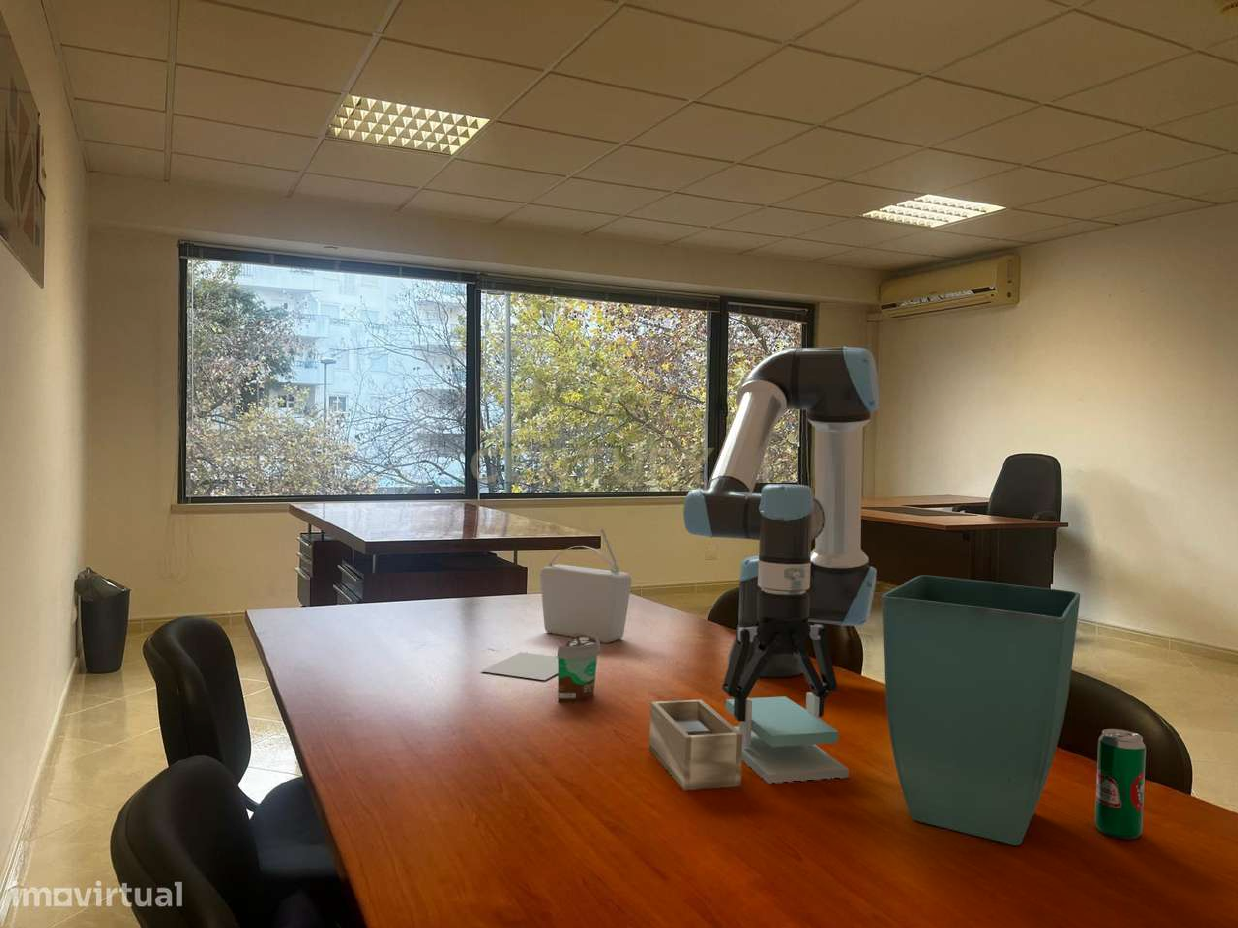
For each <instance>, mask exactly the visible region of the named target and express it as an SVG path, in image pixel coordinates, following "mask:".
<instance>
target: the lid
mask: <svg viewBox="0 0 1238 928" xmlns="http://www.w3.org/2000/svg"><path fill="white" fill-rule="evenodd" d="M748 698H749V699H750V700H752V719H751V731H753V732H754V733H755V734H756V735H758V736H759V737H760V738H761V739H762V740H764V741H765V742H766V743H767V744H769V745H770V746H771V747H783V746H798V745H813V744H815V745H823V744H824V745H826V744H838V743H839V732H840V731H838V730H837V729H836V728H834V727H832V726H831V725H830V724H828V723H826V722H825V721H824V720H822V719H820V717H819V718H818V717H816V716H814V715H813V714H811V713H810V712H808V711H807V710H806V708H804V707H802V706H801V705H799V704H798V703H796V702H795V701H793V700H792V699H790V698H789V697H787V696H786V695H785V696H783V695H782V696H769V697H768V696H767V697H764V696H763V697H748ZM725 710H726V711H727V712H728V713H729V714H731V715H732V716H734V698H729V699H727V698H726V701H725Z"/></svg>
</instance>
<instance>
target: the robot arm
mask: <svg viewBox="0 0 1238 928" xmlns="http://www.w3.org/2000/svg"><path fill="white" fill-rule="evenodd" d="M740 383H741V384H740V385H739V388H738V390H737V392H736V397H735V402H736V406H737V407H736V410H735V412H734V415H733V418H732V421H731V424H730V426H729V428H728V431H727V433H726V436H725V438H724V441H723V444H722V447H721V449H720V451H719V454H718V457H717V459H716V462H715V464H714V467H713V470H712V471H711V472H712V473H711V475H710V477H709V480H708V483H707V486H706V487H705V489H703V488H700V489H692V490H690V491H688V493H687V494H686V496H685V498H684V501H683V509H682V511H683V512H682V513H683V514H682V516H683V518H682V519H683V523H684V527H685V530H686V531H687V532H688V533H689V534H691V535H696V536H702V537H708V538H724V539H725V538H727V539H741V540H742V539H743V540H753V541H754V540H756V541H759V548H758V551H759V552H758V555H754V556H753V555H751V556H748V557H745V559H743V561H742V562H741V565H740V572H739V579H738V583H739V585H738V586H739V587H738V615H737V616H738V621H737V622H738V623H737V624H738V625H737V627H736V628H735V636H734V639H733V643H732V644H731V647H730V651H729V653H728V661H727V670H726V673H725V677H724V680H723V683H722V686H721V687H722V688H721V690H722V691H723V692H724V693H725V694H727V695H728V696H729V697H733V699H734V719H735V720H736V721H738V722H739V723H738V726H739V732H740V733H742V743H743V744H744V745H745V746H751V719H752V700H750V699H749V698H750V697H749V695H750V693H751V692H752V690H753V688H754V686H755V685H756V683H757V681H758V679H759V677H761V678H788V677H789V678H790V677H795V676H798V675H801V674H803V676H804V677H805V680H806V682H807V683H808V685H809V687H810V689H811V691H812V692H811V691H810V692H806V696H805V710H807V711H808V712H810V713H811V714H813V715H814V716H816V717H818V718H819V719H820V718H823V717H824V714H825V699H826V698H828V697H829V693H830V692H836V691H837V690H838V683H837V680H836V675H835V670H834V665H833V662H832V658H831V654H830V649H829V645H828V638H829V628H828V627H827V626H824V625H823V624H829V625H837V626H841V627H844V626H853V627H861V626H864V625H865V624H866V623H867V621H868V620H869V617H870V613H871V611H872V610H871V609H872V604H873V601H874V594H875V590H876V583H877V573H878V570H877V568H876V567H873V566H869V556H868V555H867V554H866V553H865V552H864V551H863V550H862V549H861V547H862V546H861V544H862V543H861V539H862V538H861V537H862V536H861V533H862V532H861V531H862V529H861V528H862V522H861V521H862V455H863V454H862V451H863V450H862V448H863V447H862V444H863V441H862V439H863V437H862V436H863V428H864V426H865V425H867V424H868V423H869V422H871V412H875V411H877V410H878V409H879V407H880V383H879V376H878V370H877V363H876V361H875V357H874V355H873V353H872V352H871V351H870V349H869V350H868V349H866V348H863V347H862V348H861V347H851V346H850V347H849V346H839V347H837V346H835V347H806V348H805V347H802V348H801V347H789V348H786V349H781V350H779V351H776V352H773V353H771V354H770V355H768V356H767V357H765V358H764V359H762V360H761V361H759V363H757V364H756V365H755V366H754V367H753V368H752V369H751V370H750V371H749V372H748V373H747V374H746V375H745V377H744V378H743V379H742V381H741V382H740ZM787 410H806V411H807V414H806V416H807V421H808V422H809V424H811V426H813V427H814V429H815V431H814V432H815V439H814V440H815V442H814V443H815V444H814V445H815V450H814V451H815V452H814V453H815V457H814V461H815V471H814V472H815V475H814V476H815V481H814V482H815V483H814V484H815V492H813V489H812V488H811V487H810V486H809V485H804V484H791V483H790V484H789V483H788V484H787V483H785V484H784V483H783V484H781V483H776V484H775V483H769V484H765V486H763V487H762V489H761V492H753V491H754V490H755V485H756V483H757V479H758V476H759V474H760V471H761V468H762V465H763V463H764V459H765V457H766V453H767V450H768V447H769V445H770V441H771V438H772V436H773V432H774V429H775V427H776V423H777V421H778V420H780V419H781V418H782V417H784V415H785V414H786V411H787ZM813 493H814V494H815V496H814V495H813ZM812 541H815V543H814V544H815V546H814V549H812ZM809 622H811V623H815V624H813V625H812V624H810V623H809ZM821 623H822V624H821ZM808 636H810V639H812V646H813V650H814V654H815V658H816V663H817V667H818V670H819V671H818V672H819V675H818V672H817V670H816V668H815V666H814V664H813V662H812V661H811V660H812V659H811V658H810V656H809V651H808V649H807V648H806V645H805V644H804V642H805V641H806V640H807V638H808Z"/></svg>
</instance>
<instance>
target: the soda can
mask: <svg viewBox="0 0 1238 928" xmlns="http://www.w3.org/2000/svg"><path fill="white" fill-rule="evenodd" d="M1101 733H1102V734H1101V735H1100V736H1099V737H1098V741H1097V742H1098V743H1097V759H1096V760H1097V761H1096V780H1095V781H1096V784H1095V801H1094V803H1095V804H1094V806H1095V807H1094V825H1095V826H1096V828H1097V829H1098V831H1100V832H1101V833H1103V834H1105V835H1106V836H1108V837H1111V838H1114V839H1119V840H1125V841H1127V840H1129V841H1130V840H1136V839H1138V838H1139V837H1140V836H1141V835H1142V834H1143V827H1144V826H1143V822H1144V800H1145V782H1146V779H1145V776H1146V759H1147V758H1146V757H1147V746H1146V744H1145V743H1144V741H1143V740H1144V738H1143V736H1142V735H1140V734H1138V733H1136V732H1134V731H1129V730H1124V729H1120V728H1119V729H1118V728H1108V729H1107V728H1106V729H1103V730H1102V731H1101Z"/></svg>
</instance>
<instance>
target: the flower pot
mask: <svg viewBox="0 0 1238 928" xmlns="http://www.w3.org/2000/svg"><path fill="white" fill-rule="evenodd" d="M1080 604H1081V593H1080V592H1078V591H1071V590H1065V589H1056V588H1048V587H1038V586H1028V585H1022V584H1021V585H1020V584H1010V583H1002V582H993V581H983V580H972V579H964V578H953V577H948V576H946V577H945V576H936V575H918V576H916V577H914V578H912V579H910V580H908V581H906V582H904V583H903V584H900V585H899V586H896V587H895V588H893V589H891V590H888V591H887V592H885V593H883V594H882V595H881V610H882V630H883V634H882V635H883V636H882V637H883V659H884V660H883V661H884V662H883V663H884V664H883V665H884V666H883V667H884V689H885V691H884V692H885V694H884V695H885V708H886V717H887V725H888V732H889V733H888V734H889V738H890V744H891V748H892V755H893V760H894V764H895V765H894V766H895V768H896V773H897V776H898V779H899V780H898V781H899V784H900V788H901V791H902V794H903V797H904V799H905V803H906V805H907V808H908V809H907V810H908V812H909V814H910V817H911V818H912V820H913V821H916V822H920V823H924V824H926V825H932V826H936V827H939V828H943V829H946V830H951V831H955V832H959V833H963V834H967V835H971V836H975V837H978V838H979V837H980V838H982V839H987V840H992V841H995V842H999V843H1004V844H1007V845H1010V846H1019V845H1021V844H1022V843H1023V840H1024V838H1025V836H1026V833H1027V830H1028V828H1029V826H1030V822H1031V821H1032V818H1033V815H1034V814H1035V811H1036V808H1037V805H1038V803H1039V800H1040V798H1041V795H1042V792H1043V790H1044V788H1045V785H1046V781H1047V779H1048V776H1049V773H1050V770H1051V767H1052V765H1053V761H1054V758H1055V754H1056V751H1057V748H1058V744H1059V741H1060V740H1059V739H1060V736H1061V731H1062V727H1063V725H1064V719H1065V715H1066V710H1067V709H1066V708H1067V704H1068V703H1067V702H1068V698H1069V692H1070V691H1069V690H1070V683H1071V676H1072V667H1073V660H1074V651H1075V643H1076V642H1075V641H1076V634H1077V626H1078V619H1079V611H1080Z"/></svg>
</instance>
